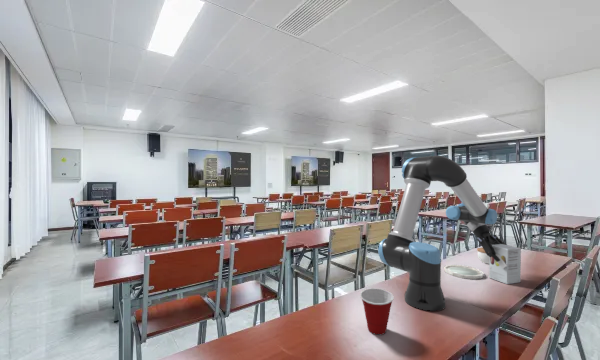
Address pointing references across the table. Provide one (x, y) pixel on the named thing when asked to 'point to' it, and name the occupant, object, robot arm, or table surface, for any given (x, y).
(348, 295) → the table surface
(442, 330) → the table surface
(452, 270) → the dish
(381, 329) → the plastic cup
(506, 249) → the supplement box
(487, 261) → the lidded jar
